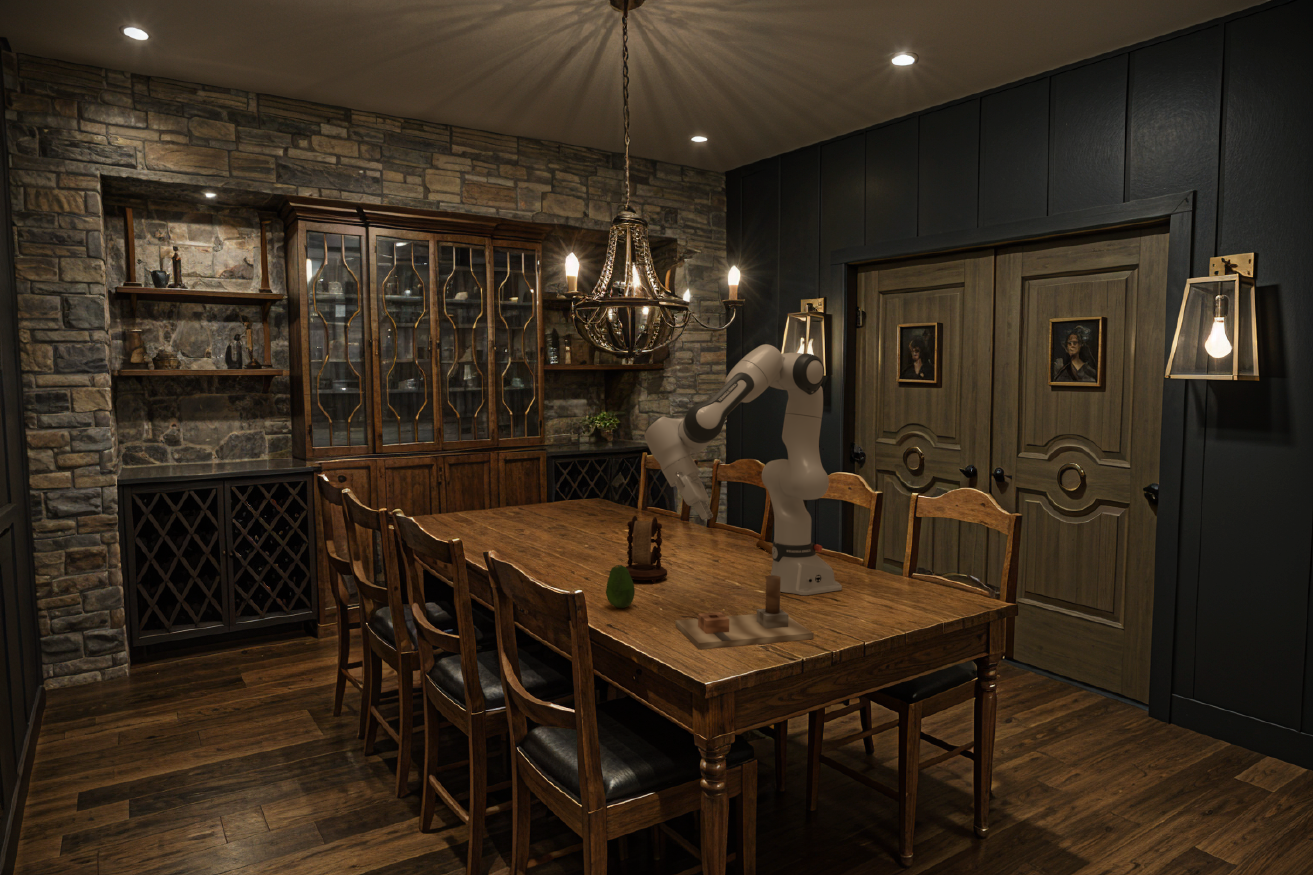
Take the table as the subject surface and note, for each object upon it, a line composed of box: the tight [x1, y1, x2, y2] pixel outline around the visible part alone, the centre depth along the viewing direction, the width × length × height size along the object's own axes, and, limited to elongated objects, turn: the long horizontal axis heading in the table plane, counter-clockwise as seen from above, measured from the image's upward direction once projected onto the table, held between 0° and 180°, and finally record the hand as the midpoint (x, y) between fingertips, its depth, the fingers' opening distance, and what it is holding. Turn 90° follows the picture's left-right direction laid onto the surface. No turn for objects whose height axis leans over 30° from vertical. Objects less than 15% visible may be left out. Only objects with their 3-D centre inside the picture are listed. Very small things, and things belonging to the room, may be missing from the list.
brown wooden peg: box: [764, 574, 781, 614], centre depth 203 cm, size 4×4×12 cm
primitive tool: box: [755, 539, 773, 555], centre depth 292 cm, size 19×6×4 cm, turn 24°
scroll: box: [625, 515, 668, 585], centre depth 252 cm, size 15×15×20 cm
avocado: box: [605, 564, 636, 609], centre depth 220 cm, size 8×8×12 cm
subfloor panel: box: [675, 608, 815, 650], centre depth 201 cm, size 30×18×5 cm, turn 107°
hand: (708, 518), depth 211 cm, fingers open, 8 cm apart
